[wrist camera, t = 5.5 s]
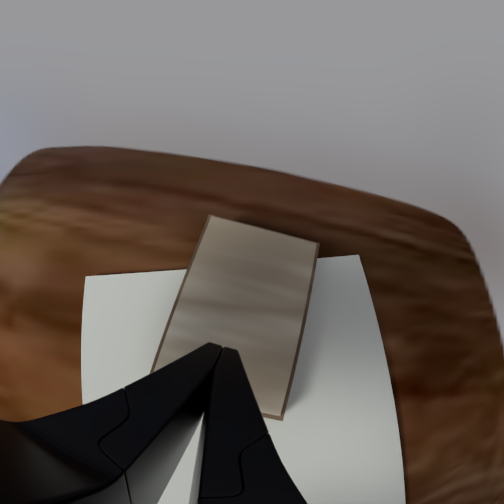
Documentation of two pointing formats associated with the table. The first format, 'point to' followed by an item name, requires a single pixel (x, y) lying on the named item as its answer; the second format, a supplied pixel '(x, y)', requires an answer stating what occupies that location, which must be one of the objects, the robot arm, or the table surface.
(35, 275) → the table surface
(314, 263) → the tile
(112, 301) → the mat
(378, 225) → the table surface
